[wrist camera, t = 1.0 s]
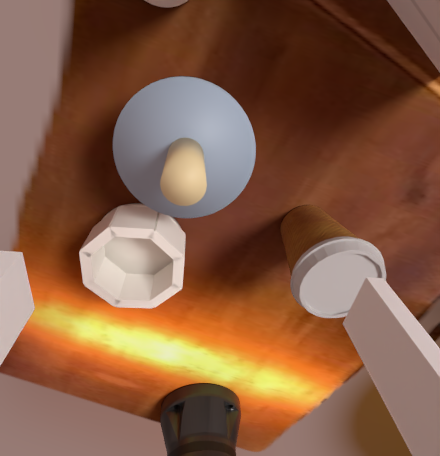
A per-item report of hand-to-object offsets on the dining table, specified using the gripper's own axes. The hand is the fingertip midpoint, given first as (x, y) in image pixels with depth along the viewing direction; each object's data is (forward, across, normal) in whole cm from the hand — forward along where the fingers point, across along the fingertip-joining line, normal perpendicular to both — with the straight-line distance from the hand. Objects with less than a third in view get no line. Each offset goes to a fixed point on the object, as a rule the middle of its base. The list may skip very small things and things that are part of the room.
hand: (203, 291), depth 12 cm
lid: (+19, +1, 0) cm, 19 cm away
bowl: (+24, +6, +14) cm, 29 cm away
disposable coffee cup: (+25, -15, +10) cm, 31 cm away
